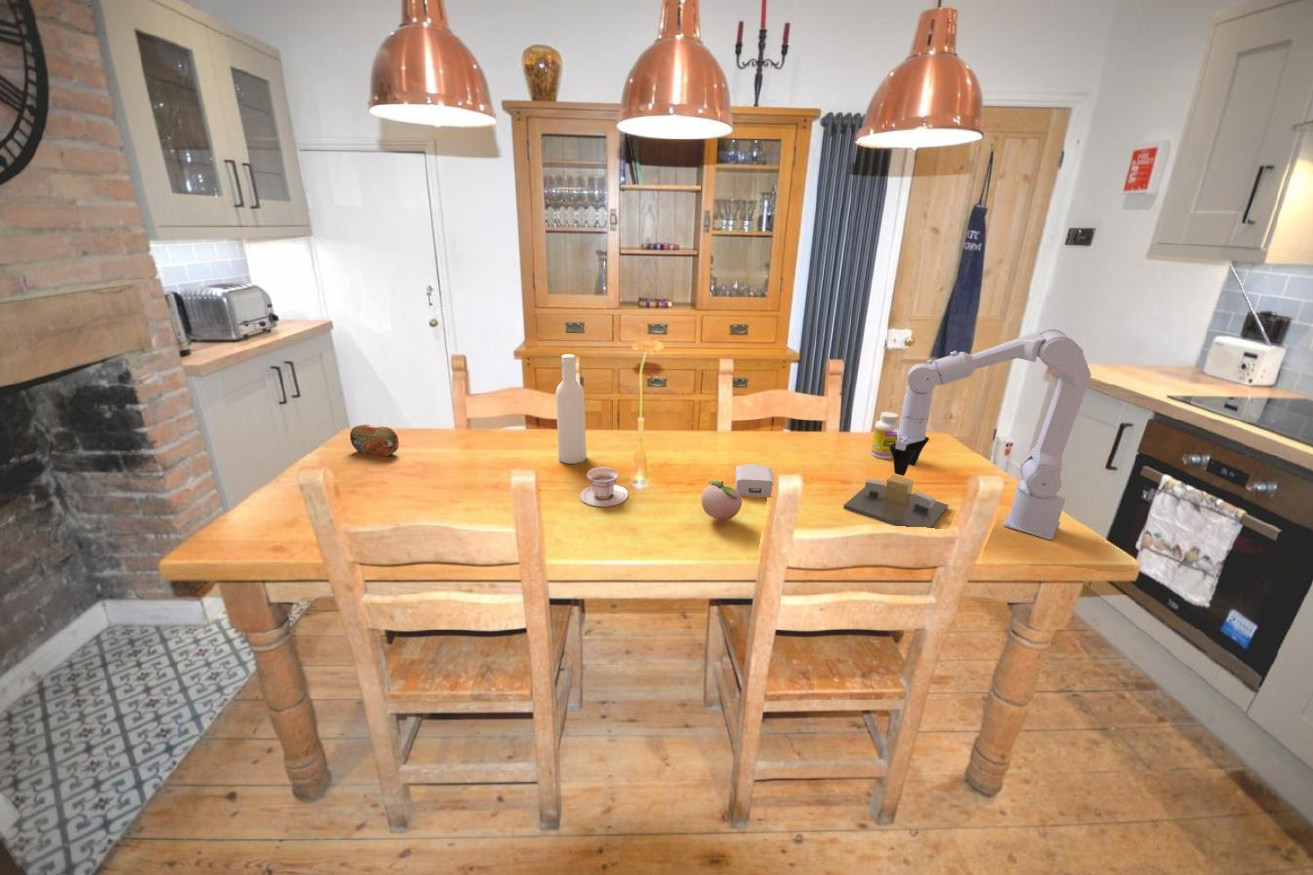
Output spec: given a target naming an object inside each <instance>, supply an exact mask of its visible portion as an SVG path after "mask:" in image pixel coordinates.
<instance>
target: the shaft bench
mask: <svg viewBox="0 0 1313 875" xmlns="http://www.w3.org/2000/svg"><path fill="white" fill-rule="evenodd" d="M886 483H887V481H880V480H875V479H871V478H866V479H865V486H864V487H863V488H862V489H860V490H859V491H858V492H857V493H856V494H855V495H853V497H851V498H850V499H849V500H848V501H847V502H846V503H844V504H843V509H844V510H847V511H850V512H853V513H855V514H859V515H862V516H866V517H868V518H871V519H874V520H877V521H880V522H883V523H887V524H889V525H893V526H896V527H898V526H906V527H927V528H932V529H933V528H934V526H935V525H936V524H937V522H939V520H940V519H941V518H942V516H943V515H944V514H945V513H946V511H947V510H948V508H949V504H947V503H944V502H940V501H937V500H936V498H935V497H932V496H930V495H928V494H925V493H923V492H920V491H915V492H913V493H911V497H910V499H909V501H908V502H907V503H906V504H901V503H898V502H895V501H891V500H888V499H885V498H884V495H885V489H886Z"/></svg>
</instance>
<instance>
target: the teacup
mask: <svg viewBox="0 0 1313 875" xmlns="http://www.w3.org/2000/svg"><path fill="white" fill-rule="evenodd" d="M619 475H620V473H619V471H617V469H614V468H612V467H606V466H598V467H593V468H591V469H589V470H588V471H587V473H586V477H587V478H586V479H588V481H589V482H590V484H591V485H590V486H587V487H586V488H584V489H583V490H582V491H580V493H579V499H580V500H581V501H582V502H583V503H584V504H585V505H587V506H592V507H598V508H607V507H613V506H618V505H620V504H622V503H625V501H626V500H627V499H628V497H629V493H628V490H627V489H626V488H624V487H622V486H620V485H616V482H617V480H618V478H619ZM612 495H613V497H612V498H610V497H611V496H612ZM609 498H610V499H609Z"/></svg>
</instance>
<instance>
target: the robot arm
mask: <svg viewBox="0 0 1313 875" xmlns="http://www.w3.org/2000/svg"><path fill="white" fill-rule="evenodd" d="M949 353H950V354H949V355H948V356H943V357H941V358H938V359H935V360H933V359H928V360H927V361H926V362H927V363H924V362H921V363H917V364H914V365H913V366H912V367H911V368H910V369H909V370H908V372H907V375H906V376H907V386H906V390H905V395H904V397H903V404H902V409H901V417H900V421H899V429H895V430H893V433H894V434H897V439H898V440H897V442H896V444H894V443H892V444H891V445H890V451H891V453H892V456H893V458H892V459H893V469H894V470H893V471H894V475H897V476H901V477H904V476H905V474H906V472H907V470H908V467H909V466H913V467H915V465H916V464H917V461H918V459H919V457H920V455H921V452H922V451H923V449H924V447H925V446H926V445H927V444H928V442H929V441H930V438H929V437H927V436H926V432H927V425H928V422H929V421H928V420H929V417H930V411H931V410H930V409H931V405H932V404H931V403H932V400H933V398H932V393H933V390H934V389H935V388H936V386H942V385H947V384H949V383H952V382H956V381H960V380H963V379H966V378H970V377H972V375H973V374H974V372H975V371H976V370H978V369H981V368H985V367H988V366H992V365H996V364H1000V363H1003V362H1009V361H1012V360H1015V359H1021V360H1025V361H1028V362H1032V363H1033V362H1034V363H1037V357H1038V358H1039V359H1040V361H1041V362H1042V363H1043V364H1044V365H1045V366H1047V367H1048V368H1050V369H1052V370H1053V371H1054V373H1055V374H1056V375H1057V377H1058V382H1057V385H1056V387H1055V391H1054V394H1053V396H1052V399H1051V401H1050V405H1049V407H1048V411H1047V413H1046V416H1045V417H1044V418H1045V419H1044V421H1043V424H1042V427H1041V431H1040V433H1039V436H1038V439H1037V442H1036V443H1035V444H1036V445H1035V446H1034V447H1033V448H1032V449H1031V450H1030V453H1029V455H1028V457H1027V458H1026V459H1025V460H1023V461H1022V462H1021V464H1020V468H1019V471H1020V474H1021V476H1022V479H1021V481H1020V482H1018V483H1017V487H1016V491H1015V494H1014V499H1013V501H1012V505H1011V509H1010V512H1009V514H1008V515H1007V517H1006V519H1005V521H1004V522H1003V526H1004V527H1005V528H1009V529H1012V530H1016V531H1019V532H1023V533H1026V534H1030V535H1032V536H1035V537H1039V538H1043V539H1046V540H1050V541H1052V540H1053V538H1054V536H1055V533H1056V531H1057V530H1059V527H1060V525H1061V521H1060V518H1061V515H1062V511H1063V508H1064V505H1065V501H1066V497H1063V496H1060V495H1058V494H1057V493H1059V491H1060V490H1061V487H1062V478H1061V472H1062V470H1063V454H1064V450H1065V448H1066V446H1067V443H1068V441H1069V439H1070V438H1069V437H1070V434H1071V433H1072V429H1073V427H1074V425H1075V422H1076V419H1077V416H1078V413H1079V411H1080V409H1081V408H1080V407H1081V405H1082V402H1083V400H1084V397H1085V394H1086V393H1087V392H1086V391H1087V389H1088V386H1089V383H1090V381H1091V376H1092V374H1091V371H1090V368H1089V366H1088V363H1087V360H1086V358H1085V355H1084V350H1083V348H1082V347H1080V345H1079V344H1078V343H1077V342H1075V341H1074V340H1073V339H1072V338H1070V337H1068V336H1067V335H1066V334H1065V333H1064V332H1063V331H1060V330H1057V329H1046V330H1043V331H1041V332H1035V333H1030V334H1027V335H1024V336H1021V337H1018V338H1015V339H1012V340H1010V341H1007V342H1004V343H1001V344H998V345H994V346H992V347H990V348H986V349H984V350H981V351H978V352H974V353H968V352H965V351H960V352H957V350H954V351H951V352H949Z"/></svg>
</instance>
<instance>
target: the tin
mask: <svg viewBox="0 0 1313 875" xmlns="http://www.w3.org/2000/svg"><path fill="white" fill-rule="evenodd" d="M349 438H350V439H349V440H350V442H351V445H352V447H353V448H354V449H355V450H356V451H357V452H359V453H360V454H364V455H365V454H366V455H371V456H379V457H388V456H390V455H392V454H395V452H397V451H398V449H399V444H400V443H399V437H398V435H397V433H396V432H395V431H394V430H393V428H390V427H387V426H380V425H374V424H373V425H372V424H361V425H356V426H354V427H352V429H351V431H350V434H349Z"/></svg>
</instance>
